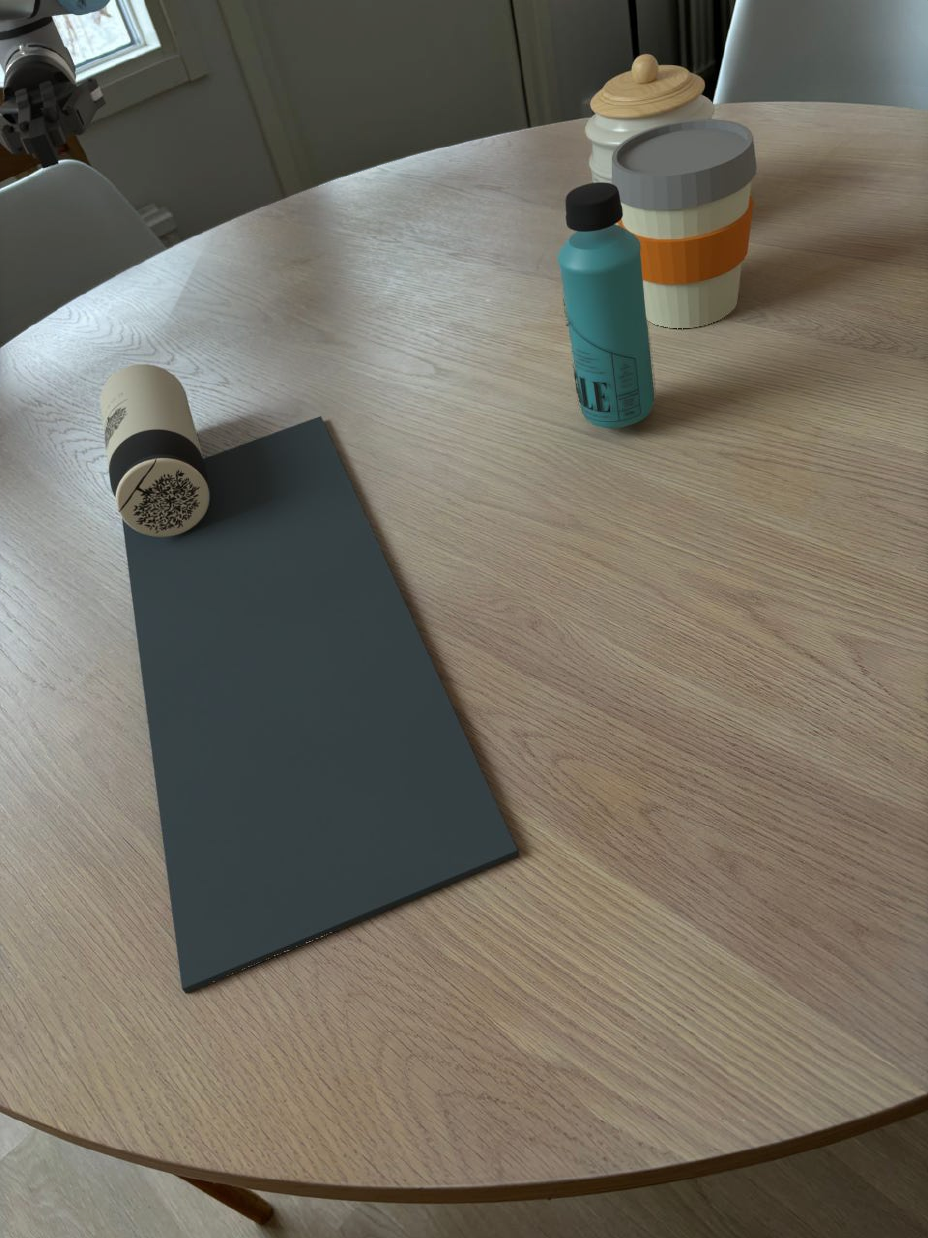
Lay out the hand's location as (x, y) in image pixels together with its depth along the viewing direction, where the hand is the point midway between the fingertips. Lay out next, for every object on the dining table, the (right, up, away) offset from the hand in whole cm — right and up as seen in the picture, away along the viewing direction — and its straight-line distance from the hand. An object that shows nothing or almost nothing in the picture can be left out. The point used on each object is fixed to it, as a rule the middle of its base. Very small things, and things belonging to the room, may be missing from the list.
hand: (43, 151), depth 93 cm
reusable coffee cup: (+61, -13, +5) cm, 62 cm away
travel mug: (+8, -22, +4) cm, 24 cm away
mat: (+24, -44, -17) cm, 53 cm away
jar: (+60, -1, +18) cm, 62 cm away
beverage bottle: (+52, -26, -7) cm, 59 cm away
